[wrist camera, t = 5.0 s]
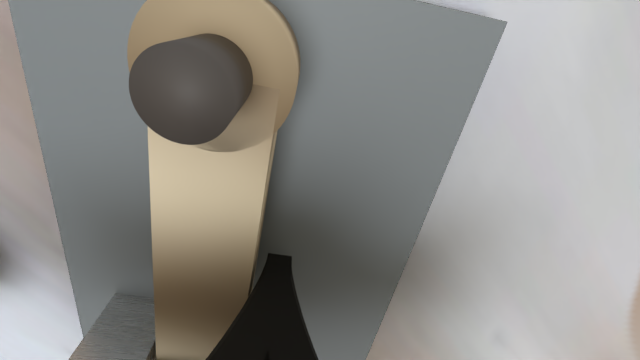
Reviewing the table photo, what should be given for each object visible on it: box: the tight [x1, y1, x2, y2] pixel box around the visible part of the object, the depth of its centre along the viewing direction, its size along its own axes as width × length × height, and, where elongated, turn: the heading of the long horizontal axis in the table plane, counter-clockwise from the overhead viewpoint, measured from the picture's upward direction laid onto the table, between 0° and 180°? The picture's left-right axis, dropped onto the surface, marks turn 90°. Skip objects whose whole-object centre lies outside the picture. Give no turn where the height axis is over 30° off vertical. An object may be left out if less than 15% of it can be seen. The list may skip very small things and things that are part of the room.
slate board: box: [8, 0, 507, 360], centre depth 10 cm, size 14×11×1 cm
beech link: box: [127, 0, 300, 360], centre depth 8 cm, size 12×3×3 cm, turn 168°
